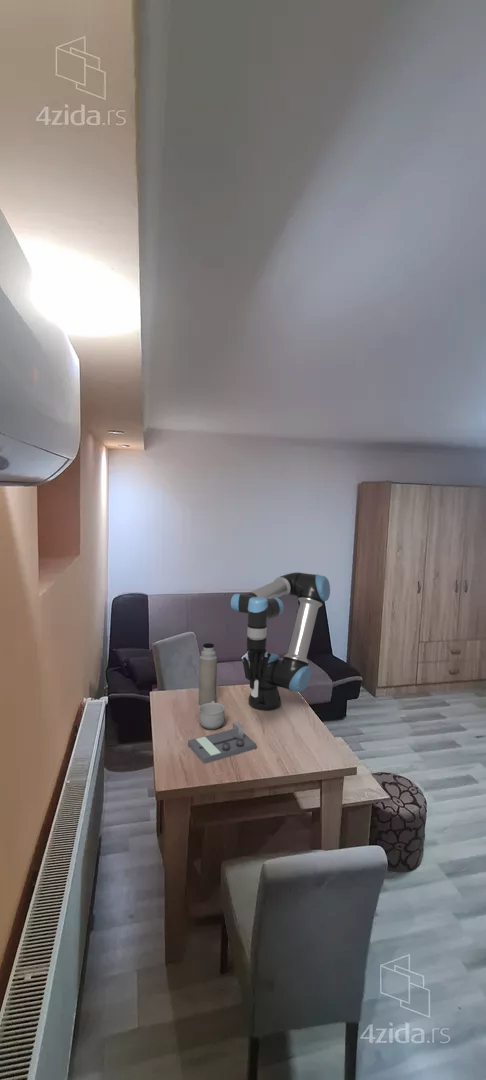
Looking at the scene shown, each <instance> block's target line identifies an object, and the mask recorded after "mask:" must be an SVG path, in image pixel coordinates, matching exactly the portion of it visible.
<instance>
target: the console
mask: <svg viewBox="0 0 486 1080" xmlns="http://www.w3.org/2000/svg"><path fill="white" fill-rule="evenodd" d="M187 747H189V748H190V750H191V751H192V752H193V753H194V754H195V756H196V757H198V759H199V760H200V761H201V762H202V763H203V765H205V764H208V763H212V762H215V761H219V760H222V759H226V758H229V757H232V756H236V755H239V754H243V753H246V751H247V752H250V751H253V750H257V743H256V742H255V741H254V740H252V739H251V738H250V737H249V736H248V735H246V734H245V733H244V739H236V738H235V737H234V736H233V728H232V729H228V730H225V731H220V732H217V733H212V734H208V735H204V736H201V737H197V738H193V739H190V740H189V739H188V740H187Z"/></svg>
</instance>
